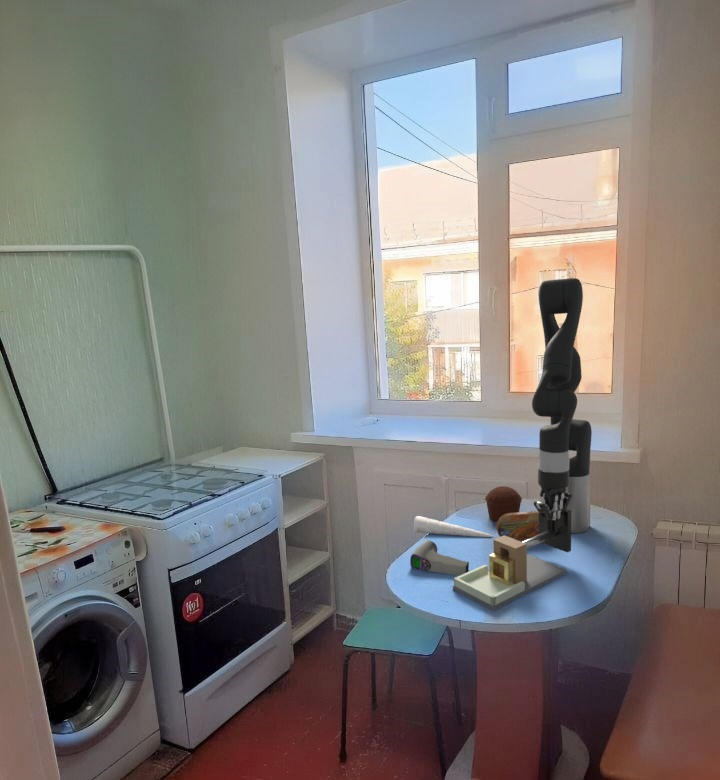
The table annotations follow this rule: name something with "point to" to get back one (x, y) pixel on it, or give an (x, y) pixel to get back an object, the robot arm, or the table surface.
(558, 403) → the robot arm
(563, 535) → the shaft
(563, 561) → the table surface
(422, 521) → the unicorn horn
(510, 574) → the spacer
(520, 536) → the tin
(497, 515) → the muffin
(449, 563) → the infrared thermometer
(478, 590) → the shaft rig
